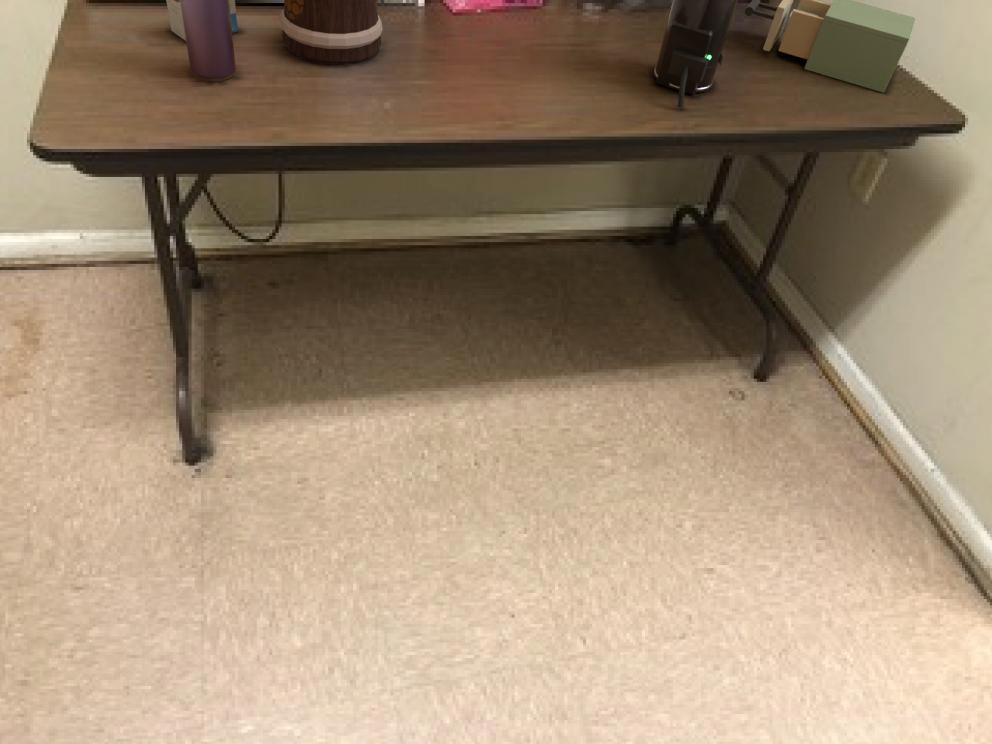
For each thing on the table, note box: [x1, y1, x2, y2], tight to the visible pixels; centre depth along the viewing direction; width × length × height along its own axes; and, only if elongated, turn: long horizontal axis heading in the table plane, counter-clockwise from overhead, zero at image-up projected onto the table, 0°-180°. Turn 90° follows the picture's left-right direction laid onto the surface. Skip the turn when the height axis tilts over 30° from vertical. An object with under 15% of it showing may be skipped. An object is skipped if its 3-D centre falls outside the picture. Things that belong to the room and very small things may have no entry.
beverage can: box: [180, 0, 237, 83], centre depth 107 cm, size 6×6×15 cm
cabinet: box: [804, 0, 916, 94], centre depth 139 cm, size 14×12×9 cm
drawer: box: [744, 0, 832, 60], centre depth 142 cm, size 18×10×7 cm, turn 64°
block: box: [779, 8, 819, 43], centre depth 142 cm, size 4×4×4 cm
